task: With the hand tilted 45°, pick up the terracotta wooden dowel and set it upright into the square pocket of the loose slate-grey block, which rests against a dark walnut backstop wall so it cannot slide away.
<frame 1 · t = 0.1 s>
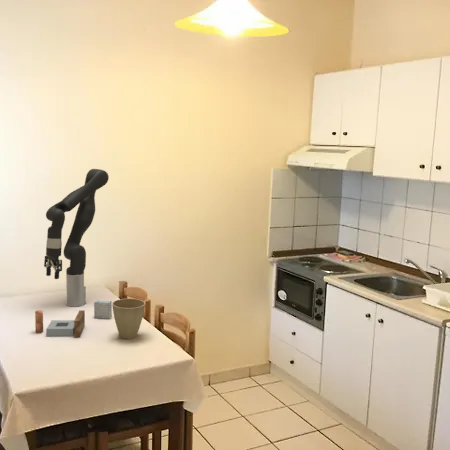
hand: (52, 277, 294), 17 cm above the table, tool pointing down, fingers open, 8 cm apart
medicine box: (103, 317, 287), on the table
dowel: (39, 331, 263), on the table
backstop wall: (79, 331, 265), on the table
pocket block: (62, 332, 264), on the table
plant pot: (128, 336, 262), on the table
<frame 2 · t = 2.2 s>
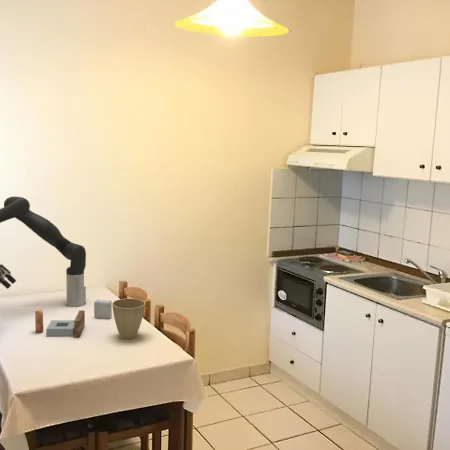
hand: (12, 284, 259), 23 cm above the table, tool tilted 45°, fingers open, 8 cm apart
nothing on the table moved.
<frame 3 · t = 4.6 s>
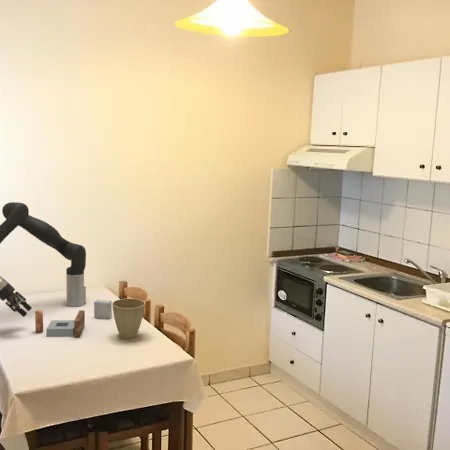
hand: (27, 312, 261), 9 cm above the table, tool tilted 45°, fingers open, 8 cm apart
nothing on the table moved.
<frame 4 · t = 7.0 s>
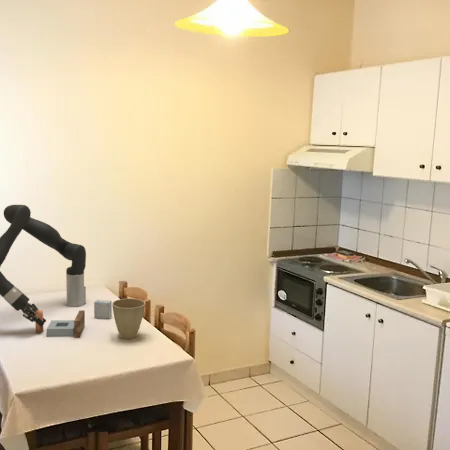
hand: (43, 323, 263), 4 cm above the table, tool tilted 45°, fingers closed on dowel, 3 cm apart
dowel: (39, 331, 263), on the table, touching gripper
everything else where it was.
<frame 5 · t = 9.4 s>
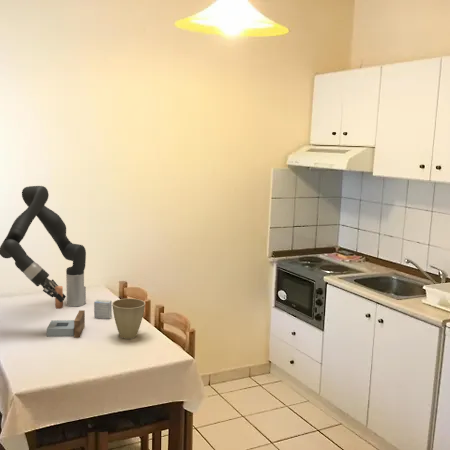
hand: (63, 299, 262), 16 cm above the table, tool tilted 45°, fingers closed on dowel, 3 cm apart
dowel: (59, 307, 263), point 12 cm above the table, touching gripper
everything else where it was.
when the fingers open (6 cm above the table, at t = 12.3 s): dowel drops 1 cm, resting on pocket block.
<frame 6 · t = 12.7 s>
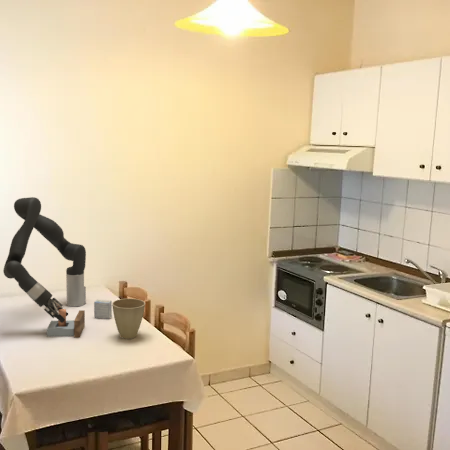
hand: (65, 318, 264), 7 cm above the table, tool tilted 45°, fingers open, 7 cm apart
dowel: (62, 330, 264), point 1 cm above the table, touching pocket block
pocket block: (62, 332, 265), on the table, touching dowel
everything else where it was.
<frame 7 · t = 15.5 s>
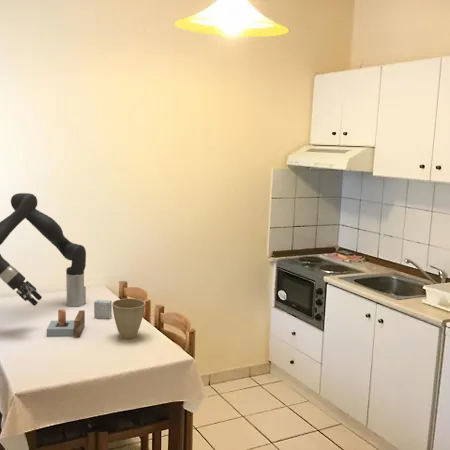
hand: (38, 301, 261), 15 cm above the table, tool tilted 45°, fingers open, 8 cm apart
nothing on the table moved.
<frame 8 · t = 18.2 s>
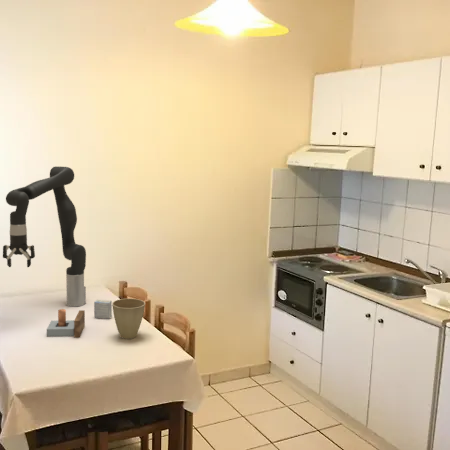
hand: (19, 266, 270), 28 cm above the table, tool pointing down, fingers open, 8 cm apart
nothing on the table moved.
at the end: dowel 0.1 cm off-centre on the pocket block, point 1.0 cm above the pocket block's base; dowel tilted 0°; pocket block moved 0.5 cm from its start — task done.
